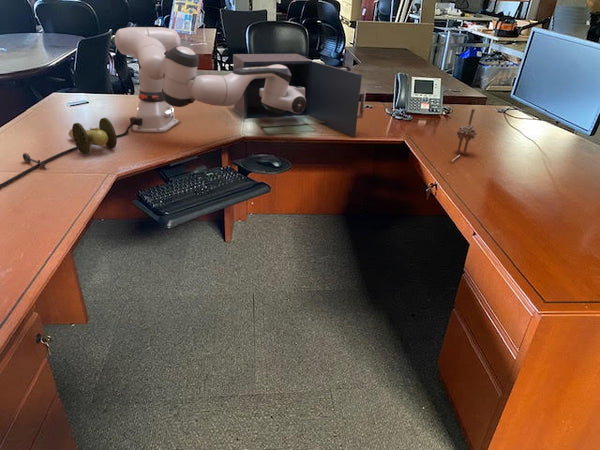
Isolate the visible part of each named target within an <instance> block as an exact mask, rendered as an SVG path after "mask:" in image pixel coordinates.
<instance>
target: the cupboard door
mask: <svg viewBox="0 0 600 450" xmlns="http://www.w3.org/2000/svg"><path fill="white" fill-rule="evenodd" d="M336 67H337V66H332V65H328V64H325V63H321V62H319V61H318V62H317V61H313V60H312V72H311V89H310V106H309V115H308V117H310V118H313V119H315V120H317V121H319V122H321V124H322V125H325V126H327V127H329V128H332V129H334V130H336V131H338V132H341V133H343V134H345V135H347V136H350V137H352V138H355V137H356V132H357V123H358V119H363V117H364V108H365V101H366V93H367V90H366V89H365V88H363V89H361V87H362V79H363V74H361V73H357V72H353V71H347V70H343V69H340V68H336ZM359 105H360V106H359Z"/></svg>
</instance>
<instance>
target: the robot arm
mask: <svg viewBox="0 0 600 450" xmlns="http://www.w3.org/2000/svg"><path fill="white" fill-rule="evenodd" d="M114 44H115V45H114V46H115V47H116V49H117V51H118V52H119V53H120V54H121V55H124V56H127V57H128V56H129V57H131V58H134V59H136V60H138V64H139V67H140V68H139V70H138V73H137V74H138V75H137V76H138V81H139V93H138V99H139V101H138V106H137V111H136V116H131V117H129V122H130V124H129V125H128V126H127V127H126V130H125V131H124V132H123V133H120V134H116V137H117V138H121V137H124V136H126V135H127V134H128V133H129V132H130V129H131V128H132V131H133V132H139V133H164V132H168V131H169V130H170V129H172V127H174V126H176V125H177V124H179V123H180V121H179V119H177V118H176V115H175V109H174V107H176V108H183V107H186V106H189V105H190V104H193V103H195V102H196V101H197V102H199V103H202V104H206V105H209V106H216V107H232V106H234V104H236V103H237V102H238V101H239V100H240V98H241V97H242V95H243V93H244V91H245V89H246V87H247V86H248V84H249V83H250V82H251V81H252V80H253V79H258V78H266V81H265V86H264V88H260V90H259V95H260V97H262V100H261V102H262V104H263V106H264V107H265V108H266V109H268V110H270V111H272V112H276V113H283V112H286V111H287V110H288V111H290V112H293V113H301V112H302V111H303V110H304V109H305V107H306V99H305V88H304V87H294V86H289V82H290V79H291V73H290V71H289V69H288V67H286V66H283V65H280V64H275V65H269V66H257V67H242V68H237V69H234V70H233V69H232V70H233V71H232V72H230V73H228V74H225V75H217V74H201V75H197V74H198V67H199V66H200V65H199V63H200V58H199V55H198V54H197V52H196V51H195V50H193V49H192V48H190V47H187V46H182V40H181V37H180V35H179V33H178V32H177V31H176V30H175V29H172V28H169V27H164V26H163V27H162V26H161V27H159V26H157V27H155V26H129V27H122V28H119V29H118V30H116V32H115V34H114ZM91 145H92V144H90V146H91ZM76 150H78V148H77V146H74V147H72V148H68V149H67V150H64V151H62V152H59V153H57V154H55V155H53V156H50V157H48V158H46V159H45V160H42V161H43V163H44V164H45V165H46V164H47V163H48V162H51V161H53V160H56V159H57V158H59V157H61V156H64V155H66V154H69V153H71V152H74V151H76ZM42 161H40V162H41V163H42ZM39 167H41V165H40V164H38V163H36V164H35V165H33V166H31V167H29V168H28V169H25V170H24V171H22V172H20V173H18V174H17V175H14V176H13V177H11V178H9V179H8V180H5V181H4V182H2V183H0V189H1V188H3V187H5V186H7V185H9V184H11V183H12V182H14V181H16V180H18V179H20V178H22V177H23V176H25V175H27V174H29V173H30V172H32V171H34V170H36V169H37V168H38V169H39Z"/></svg>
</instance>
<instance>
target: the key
mask: <svg viewBox="0 0 600 450" xmlns="http://www.w3.org/2000/svg"><path fill="white" fill-rule="evenodd" d="M22 158H23V161H24V162H25V163H28V164H29V163H31V162H34V163H36V164H40V165H41V166H40V168H41V169H42V170H46V163H45V164H44V163H43V161H44V160H40V159H38V160H36V159H33V158H31V156H30V154H29V153H26V152H23V153H22ZM41 162H42V163H41Z"/></svg>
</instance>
